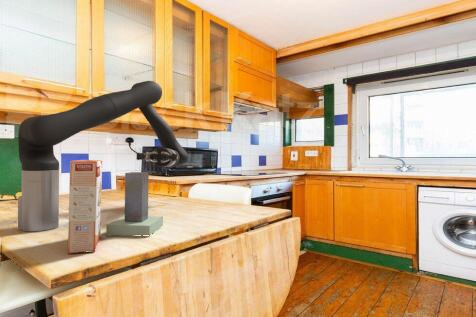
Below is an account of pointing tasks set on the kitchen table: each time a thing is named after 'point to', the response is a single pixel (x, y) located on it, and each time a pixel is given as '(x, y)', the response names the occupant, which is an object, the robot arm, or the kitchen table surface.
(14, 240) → the kitchen table surface
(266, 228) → the kitchen table surface
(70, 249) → the cracker box
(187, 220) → the kitchen table surface
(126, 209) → the block
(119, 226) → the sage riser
